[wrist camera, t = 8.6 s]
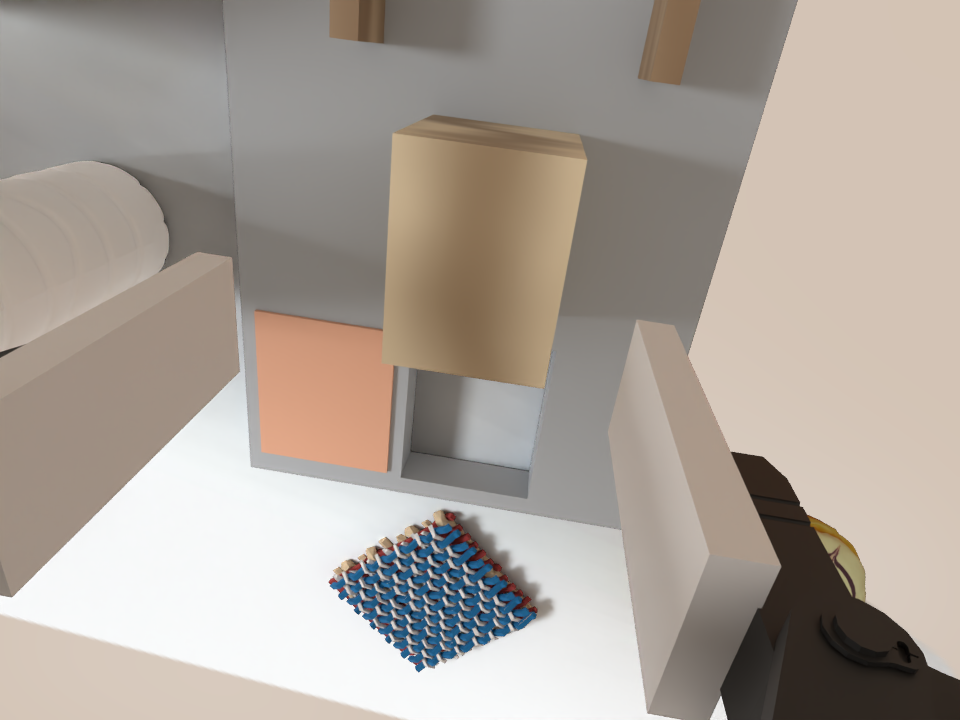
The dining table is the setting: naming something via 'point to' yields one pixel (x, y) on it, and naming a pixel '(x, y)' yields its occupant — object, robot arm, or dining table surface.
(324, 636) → the dining table surface
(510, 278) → the block
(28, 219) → the water bottle
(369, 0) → the walls
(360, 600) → the woven mat
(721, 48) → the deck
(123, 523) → the dining table surface
